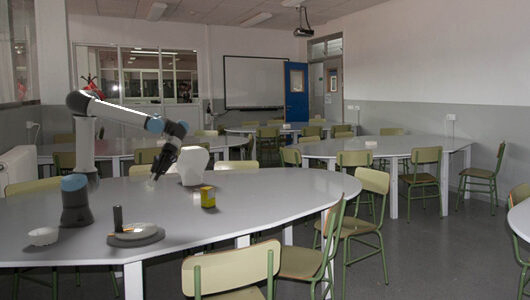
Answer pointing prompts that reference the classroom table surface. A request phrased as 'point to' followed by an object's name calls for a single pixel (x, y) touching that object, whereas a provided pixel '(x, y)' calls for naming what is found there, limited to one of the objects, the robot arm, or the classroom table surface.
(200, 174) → the white faceted lump
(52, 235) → the ramekin
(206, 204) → the supplement box
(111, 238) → the base plate
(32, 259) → the classroom table surface
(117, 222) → the dial
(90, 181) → the robot arm
